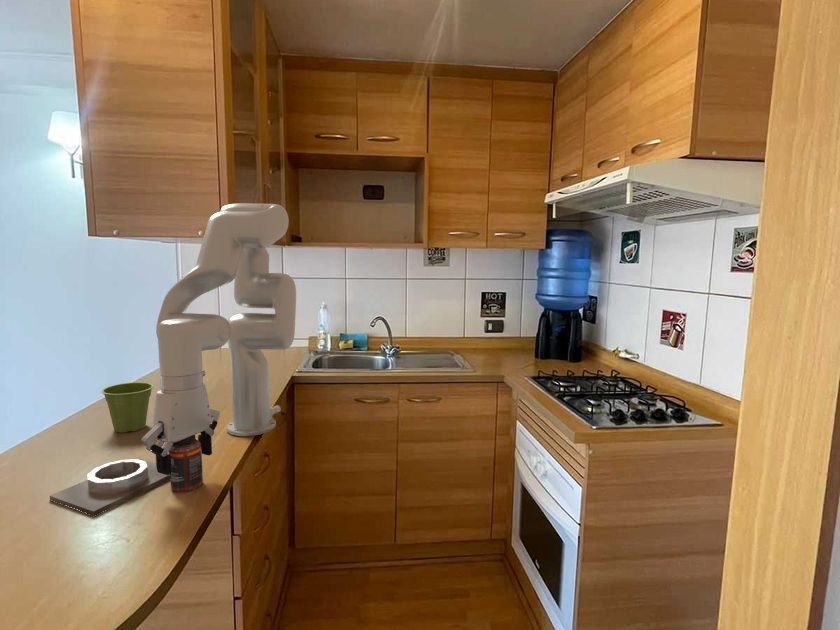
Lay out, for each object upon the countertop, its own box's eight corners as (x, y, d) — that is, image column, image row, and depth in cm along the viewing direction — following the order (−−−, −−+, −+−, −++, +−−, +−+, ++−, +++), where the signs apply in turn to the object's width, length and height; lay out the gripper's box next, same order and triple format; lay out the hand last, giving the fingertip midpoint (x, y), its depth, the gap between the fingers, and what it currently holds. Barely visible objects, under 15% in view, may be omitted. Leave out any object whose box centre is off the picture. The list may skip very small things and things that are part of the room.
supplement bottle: (208, 478, 98) (205, 427, 96) (195, 493, 92) (192, 438, 90) (179, 478, 97) (176, 427, 96) (164, 493, 92) (161, 438, 90)
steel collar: (126, 466, 100) (125, 455, 100) (158, 476, 96) (157, 464, 96) (76, 487, 91) (75, 475, 91) (110, 499, 87) (109, 486, 87)
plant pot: (145, 435, 120) (142, 393, 118) (95, 437, 118) (91, 394, 117) (162, 419, 132) (160, 381, 130) (117, 421, 130) (114, 382, 128)
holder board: (139, 462, 105) (139, 458, 104) (180, 474, 100) (180, 469, 99) (49, 500, 88) (49, 495, 88) (93, 516, 83) (93, 511, 83)
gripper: (203, 369, 101) (206, 444, 103) (126, 389, 85) (132, 477, 88) (229, 373, 98) (232, 450, 100) (155, 395, 82) (160, 486, 85)
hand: (185, 463), depth 94 cm, fingers open, 9 cm apart
